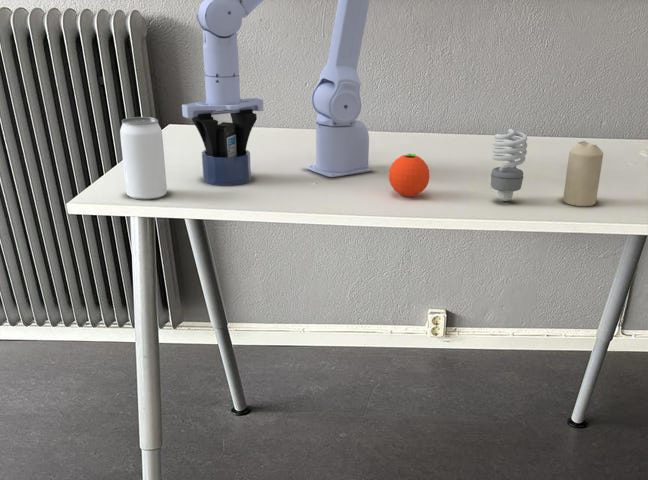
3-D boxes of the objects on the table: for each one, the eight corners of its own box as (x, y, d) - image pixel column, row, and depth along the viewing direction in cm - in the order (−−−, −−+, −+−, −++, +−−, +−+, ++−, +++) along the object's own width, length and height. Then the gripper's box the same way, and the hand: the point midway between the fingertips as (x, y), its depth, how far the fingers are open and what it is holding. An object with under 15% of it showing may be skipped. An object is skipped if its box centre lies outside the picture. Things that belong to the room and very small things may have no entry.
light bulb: (511, 208, 137) (519, 134, 132) (481, 202, 140) (488, 129, 134) (527, 201, 141) (535, 129, 136) (497, 195, 144) (504, 124, 139)
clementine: (392, 187, 146) (394, 146, 143) (431, 190, 145) (434, 149, 142) (384, 199, 139) (386, 156, 136) (425, 202, 138) (428, 159, 135)
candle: (602, 204, 141) (611, 144, 137) (577, 208, 138) (586, 147, 134) (580, 196, 145) (588, 138, 141) (556, 199, 143) (563, 140, 138)
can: (126, 201, 133) (118, 124, 128) (126, 190, 139) (118, 116, 134) (168, 199, 135) (161, 123, 130) (166, 189, 141) (160, 116, 135)
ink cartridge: (227, 174, 145) (224, 127, 141) (215, 172, 145) (212, 126, 142) (240, 167, 149) (237, 121, 145) (228, 166, 149) (225, 120, 146)
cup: (235, 171, 153) (234, 145, 151) (259, 181, 147) (258, 154, 145) (195, 177, 148) (193, 150, 146) (217, 187, 142) (216, 159, 140)
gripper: (193, 81, 133) (199, 166, 139) (271, 75, 141) (273, 155, 147) (173, 75, 138) (180, 157, 144) (250, 70, 146) (253, 148, 152)
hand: (226, 156), depth 146 cm, fingers closed on ink cartridge, 5 cm apart
